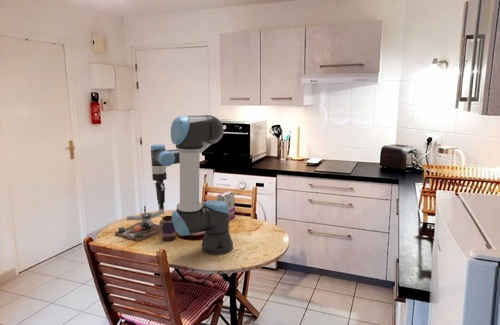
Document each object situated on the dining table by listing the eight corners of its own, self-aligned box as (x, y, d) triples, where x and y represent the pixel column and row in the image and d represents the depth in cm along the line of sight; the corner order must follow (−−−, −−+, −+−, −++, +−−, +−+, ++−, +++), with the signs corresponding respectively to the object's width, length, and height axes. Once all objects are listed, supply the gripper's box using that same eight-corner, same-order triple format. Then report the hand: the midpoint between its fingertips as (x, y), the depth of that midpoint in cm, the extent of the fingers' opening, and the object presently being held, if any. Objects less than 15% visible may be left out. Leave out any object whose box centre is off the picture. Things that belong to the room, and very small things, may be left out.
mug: (168, 235, 188) (167, 213, 186) (179, 237, 185) (177, 215, 183) (155, 242, 179) (153, 219, 177) (166, 244, 176) (165, 221, 174)
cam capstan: (173, 225, 198) (172, 211, 196) (151, 235, 184) (150, 220, 182) (149, 220, 207) (148, 206, 206) (126, 229, 193) (125, 214, 192)
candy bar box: (228, 216, 217) (228, 190, 214) (235, 217, 214) (234, 191, 212) (217, 221, 208) (216, 194, 205) (224, 223, 205) (223, 196, 202)
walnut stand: (166, 229, 197) (165, 223, 196) (138, 241, 180) (137, 235, 179) (143, 223, 206) (143, 218, 205) (115, 235, 189) (114, 229, 188)
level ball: (143, 231, 189) (143, 224, 188) (137, 234, 185) (137, 226, 185) (138, 230, 191) (137, 223, 190) (132, 232, 187) (131, 225, 187)
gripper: (169, 174, 188) (171, 216, 192) (163, 169, 199) (165, 209, 204) (154, 175, 185) (157, 218, 189) (149, 171, 196) (152, 211, 200)
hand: (161, 213), depth 196 cm, fingers closed
